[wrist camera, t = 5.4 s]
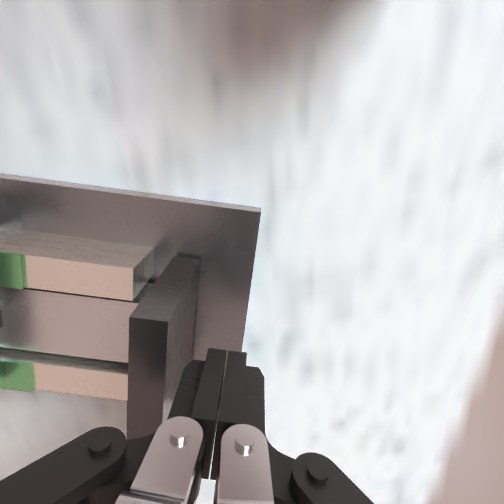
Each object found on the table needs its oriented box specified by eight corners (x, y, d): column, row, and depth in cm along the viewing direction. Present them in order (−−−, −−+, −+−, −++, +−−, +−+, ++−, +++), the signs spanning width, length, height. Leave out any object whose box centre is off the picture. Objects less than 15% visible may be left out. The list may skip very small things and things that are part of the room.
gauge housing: (-36, 168, 16) (-241, 190, 10) (260, 208, 16) (260, 255, 10) (-10, 365, 20) (-148, 481, 13) (234, 395, 20) (221, 524, 13)
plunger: (-1, 233, 16) (-137, 283, 10) (199, 259, 16) (168, 321, 11) (11, 345, 18) (-99, 437, 12) (190, 368, 18) (159, 468, 12)
